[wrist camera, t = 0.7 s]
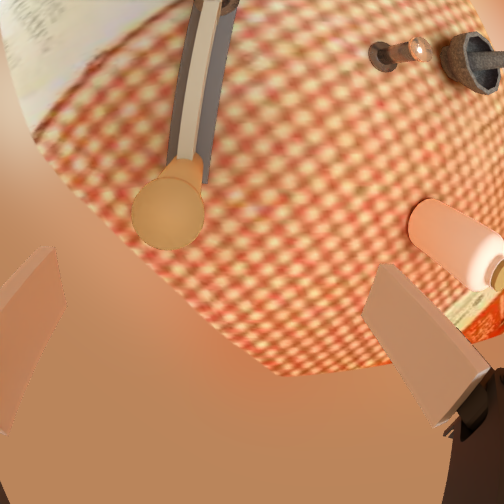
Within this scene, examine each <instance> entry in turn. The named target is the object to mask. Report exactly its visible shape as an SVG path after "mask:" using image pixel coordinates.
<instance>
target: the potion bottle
mask: <svg viewBox="0 0 504 504" xmlns="http://www.w3.org/2000/svg"><path fill="white" fill-rule="evenodd" d="M408 233H409V238H410V240H411V242H412V243H413V244H414V245H415V246H416V247H418V248H419V249H420V250H422V251H423V252H424V253H425V254H427V255H428V256H429V257H431V258H432V259H433V260H434V261H436V262H437V263H438V264H439V265H440V266H442V267H443V268H444V269H445V270H447V271H448V272H449V273H450V274H451V275H453V276H454V277H455V278H456V279H457V280H459V281H460V282H461V283H462V284H463V285H464V286H465V287H467V288H468V289H469V290H471V291H482V290H484V289H486V288H487V287H488V286H489V287H490V288H491V289H494V290H495V291H496V292H497V291H500V290H502V289H503V288H504V240H503V239H502V237H501V236H500V235H499V234H498V233H497V232H495V231H494V230H492V229H490V228H488V227H487V226H485V225H483V224H482V223H480V222H478V221H476V220H475V219H473V218H471V217H469V216H467V215H466V214H464V213H462V212H460V211H458V210H456V209H455V208H453V207H451V206H449V205H447V204H445V203H443V202H441V201H439V200H436V199H433V198H432V199H426V200H424V201H422V202H421V203H419V204H418V205H417V206H416V208H415V209H414V211H413V212H412V214H411V216H410V219H409V223H408Z"/></svg>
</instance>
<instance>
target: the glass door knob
mask: <svg viewBox="0 0 504 504" xmlns="http://www.w3.org/2000/svg"><path fill="white" fill-rule="evenodd" d="M369 58H370V61H371V63H372V64H373V66H374V67H375V68H376V69H378V70H379V71H382V72H391V71H393V70H394V69H395V68H396V67H397V63H402V62H408V61H415V60H417V61H419V62H428V61H430V60H431V58H432V49H431V46H430V44H429V43H428V42H427V41H426V40H425V39H424V38H422V37H416V38H412V39H410V41H409V42H405V43H401V44H397V45H393V46H390V45H389V44H387V43H385V42H376V43H374V44H372V45H371V46H370V48H369Z"/></svg>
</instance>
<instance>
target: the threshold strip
mask: <svg viewBox="0 0 504 504" xmlns="http://www.w3.org/2000/svg"><path fill="white" fill-rule="evenodd" d="M236 10H237V7H236V9H235V10H234V11H232V12H231V13H229V14H227V15H224V16H220V17H219V22H218V25H217V27H216V32H215V37H214V41H213V46H212V51H211V57H210V62H209V67H208V73H207V78H206V84H205V90H204V96H203V103H202V109H201V116H200V122H199V129H198V137H197V144H196V153H197V154H199V155H200V157H201V158H202V160H203V176H202V183H204V184H207V183H208V175H209V167H210V159H211V152H212V145H213V138H214V131H215V124H216V118H217V111H218V105H219V99H220V93H221V87H222V81H223V75H224V70H225V64H226V59H227V54H228V49H229V43H230V38H231V34H232V29H233V24H234V19H235V14H236ZM200 16H201V12H200V11H199V10H198V9H197V8H196V6H195V4H193V8H192V12H191V16H190V21H189V25H188V29H187V34H186V39H185V43H184V48H183V53H182V58H181V64H180V69H179V75H178V80H177V86H176V93H175V99H174V106H173V113H172V120H171V128H170V136H169V145H168V154H167V164H166V167H167V165H168V164H169V163H170V162H171V161H172V160H173V158H174V157H175V156H176V155H177V150H178V142H179V134H180V126H181V119H182V112H183V105H184V98H185V92H186V86H187V80H188V74H189V69H190V63H191V58H192V53H193V48H194V43H195V38H196V33H197V29H198V24H199V20H200Z"/></svg>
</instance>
